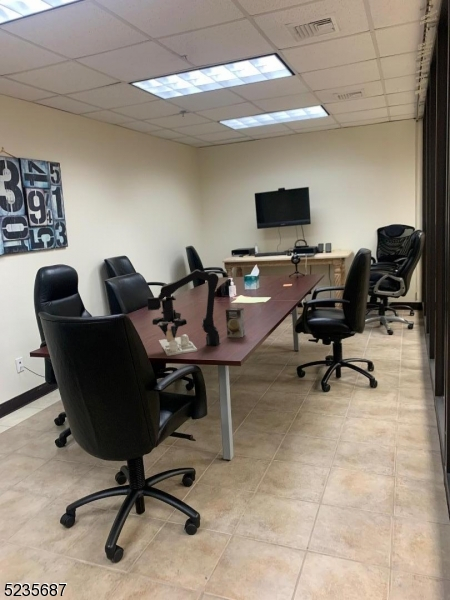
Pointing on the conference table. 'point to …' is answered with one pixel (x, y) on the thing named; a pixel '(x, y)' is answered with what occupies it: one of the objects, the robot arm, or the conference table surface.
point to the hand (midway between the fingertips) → (170, 337)
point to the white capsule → (173, 346)
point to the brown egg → (169, 335)
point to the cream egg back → (184, 340)
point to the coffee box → (235, 322)
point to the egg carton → (180, 349)
